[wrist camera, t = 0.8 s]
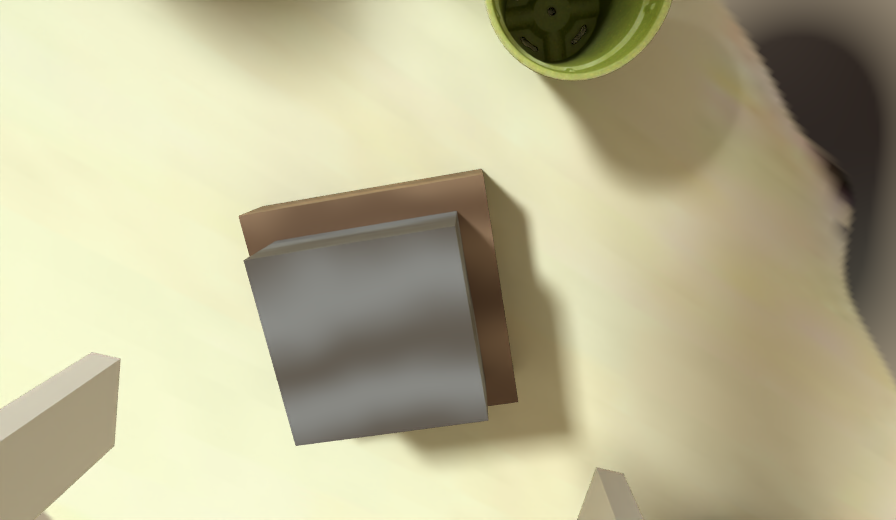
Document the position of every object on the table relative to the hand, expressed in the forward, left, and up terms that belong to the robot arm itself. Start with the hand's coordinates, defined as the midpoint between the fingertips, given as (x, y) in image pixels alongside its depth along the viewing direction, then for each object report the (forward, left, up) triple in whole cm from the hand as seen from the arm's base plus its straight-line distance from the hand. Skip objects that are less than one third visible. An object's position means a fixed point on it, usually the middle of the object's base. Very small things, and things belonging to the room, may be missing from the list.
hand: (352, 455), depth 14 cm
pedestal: (+3, -3, -24) cm, 25 cm away
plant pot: (-14, +11, -25) cm, 30 cm away
